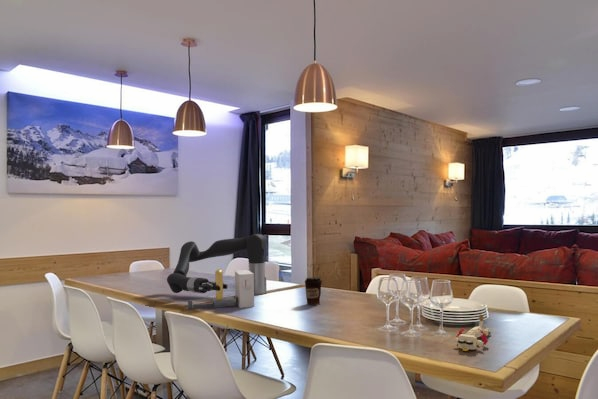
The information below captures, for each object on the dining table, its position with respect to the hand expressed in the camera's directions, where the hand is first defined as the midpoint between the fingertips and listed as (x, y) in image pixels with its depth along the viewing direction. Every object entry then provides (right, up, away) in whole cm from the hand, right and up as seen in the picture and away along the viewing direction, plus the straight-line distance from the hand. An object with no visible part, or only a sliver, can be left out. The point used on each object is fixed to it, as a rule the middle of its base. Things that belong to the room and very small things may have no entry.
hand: (223, 287), depth 227 cm
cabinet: (+10, -9, +5) cm, 14 cm away
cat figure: (+97, -7, -68) cm, 119 cm away
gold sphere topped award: (0, -9, +2) cm, 9 cm away
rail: (-4, -10, +1) cm, 10 cm away
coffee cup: (+44, -9, +2) cm, 45 cm away
